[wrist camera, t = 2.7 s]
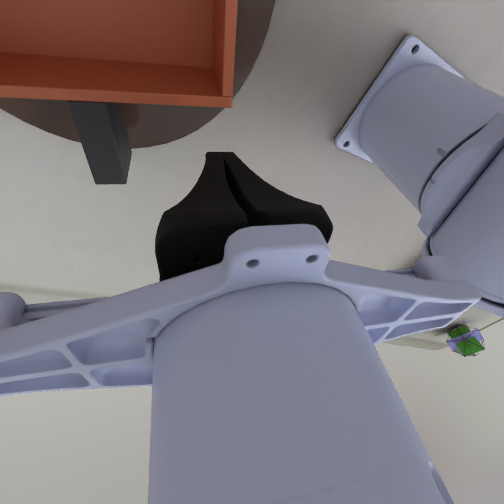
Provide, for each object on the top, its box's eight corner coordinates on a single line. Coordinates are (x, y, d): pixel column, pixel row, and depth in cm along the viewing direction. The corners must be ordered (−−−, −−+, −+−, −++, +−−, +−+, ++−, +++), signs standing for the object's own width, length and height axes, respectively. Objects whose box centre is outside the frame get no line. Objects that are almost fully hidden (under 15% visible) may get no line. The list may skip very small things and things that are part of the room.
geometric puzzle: (442, 337, 61) (465, 369, 60) (475, 323, 58) (499, 357, 57) (435, 325, 68) (455, 355, 67) (464, 313, 65) (486, 343, 64)
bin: (229, -196, 11) (257, -259, 7) (219, 143, 20) (229, 183, 17) (-239, -327, 8) (-551, -531, 4) (9, 139, 17) (-29, 186, 14)
